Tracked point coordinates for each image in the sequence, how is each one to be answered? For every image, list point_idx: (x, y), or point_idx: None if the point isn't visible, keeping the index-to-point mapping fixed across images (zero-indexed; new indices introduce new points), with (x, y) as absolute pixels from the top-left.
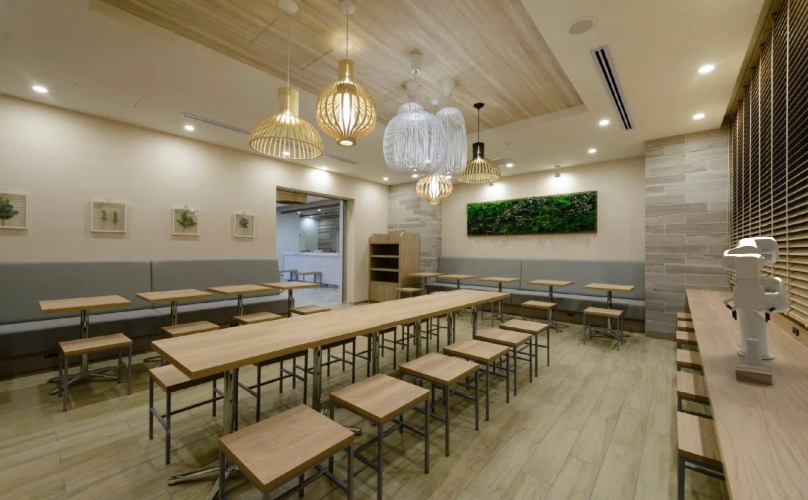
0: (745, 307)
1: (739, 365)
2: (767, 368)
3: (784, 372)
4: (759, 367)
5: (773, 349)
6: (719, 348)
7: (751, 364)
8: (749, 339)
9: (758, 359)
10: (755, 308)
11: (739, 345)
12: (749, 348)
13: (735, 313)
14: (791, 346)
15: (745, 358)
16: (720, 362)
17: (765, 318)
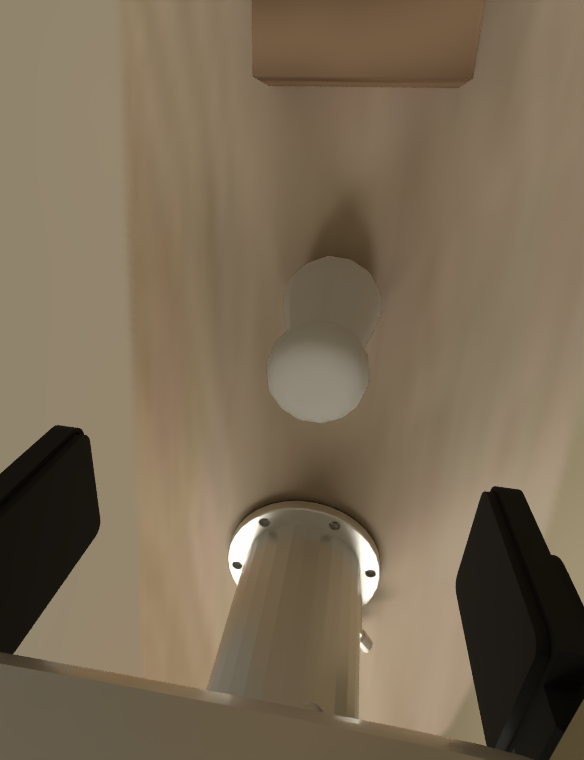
0: (316, 731)
1: (455, 6)
2: (266, 40)
3: (197, 278)
4: (316, 37)
5: None
6: (450, 634)
7: (348, 259)
8: (336, 360)
9: (303, 281)
10: (31, 658)
11: (363, 638)
12: (346, 321)
13: (543, 599)
14: None
15: (376, 305)
16: (508, 333)
17: (45, 471)
